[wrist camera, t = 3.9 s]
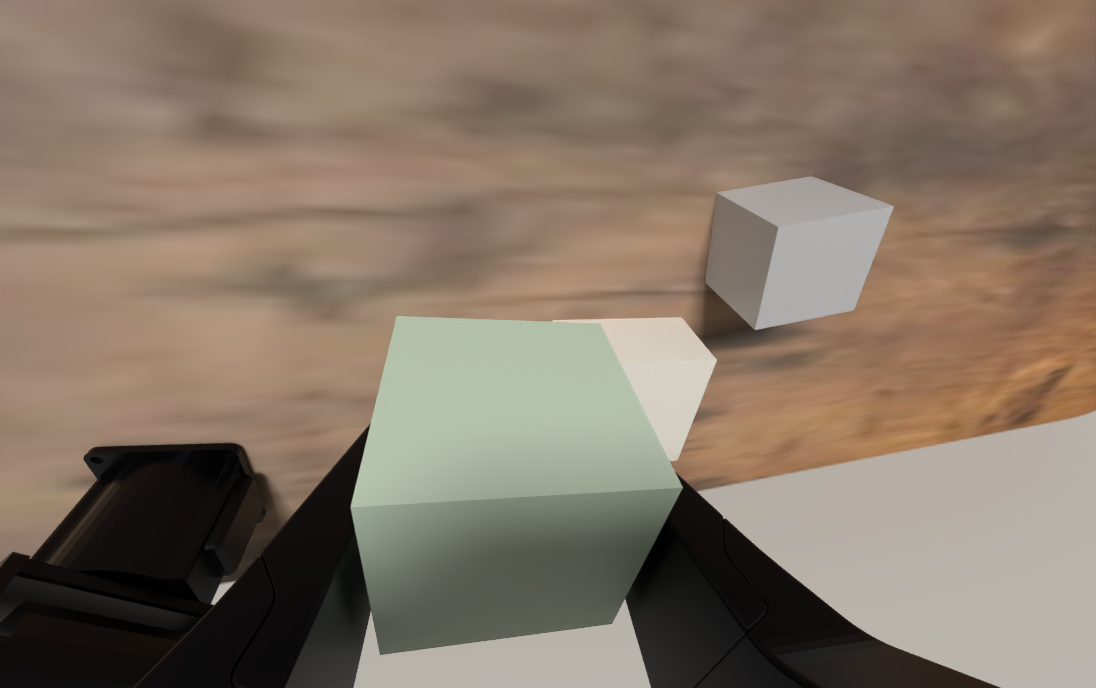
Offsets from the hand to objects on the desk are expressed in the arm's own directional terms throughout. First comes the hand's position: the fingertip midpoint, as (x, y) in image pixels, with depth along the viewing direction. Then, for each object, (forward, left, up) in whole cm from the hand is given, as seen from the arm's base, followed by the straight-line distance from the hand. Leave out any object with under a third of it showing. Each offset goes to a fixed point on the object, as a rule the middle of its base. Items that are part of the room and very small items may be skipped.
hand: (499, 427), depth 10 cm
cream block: (+7, -7, -11) cm, 15 cm away
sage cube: (0, 0, -1) cm, 1 cm away
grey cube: (+13, +2, -11) cm, 17 cm away
